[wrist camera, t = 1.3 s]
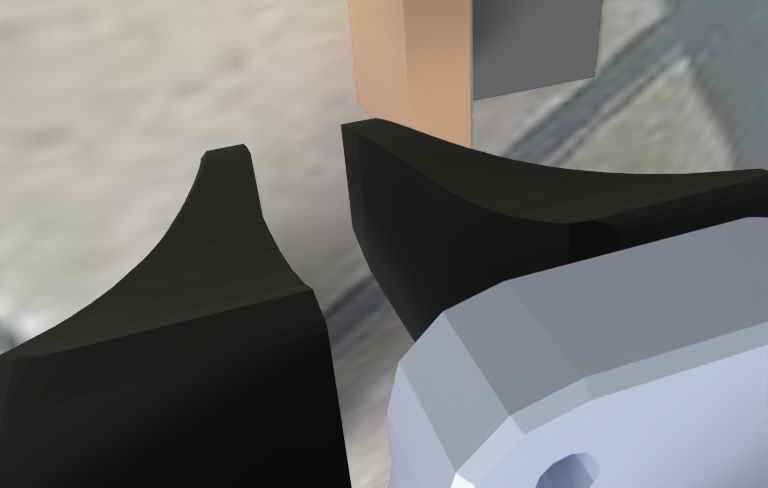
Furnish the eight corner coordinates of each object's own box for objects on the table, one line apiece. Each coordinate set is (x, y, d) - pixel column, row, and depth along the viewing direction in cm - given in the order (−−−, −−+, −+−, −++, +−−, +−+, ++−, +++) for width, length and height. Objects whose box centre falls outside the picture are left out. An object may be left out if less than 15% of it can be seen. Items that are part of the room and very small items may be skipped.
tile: (410, 91, 22) (475, 155, 18) (356, 102, 22) (412, 168, 18) (400, -81, 19) (475, -52, 15) (340, -73, 19) (400, -41, 15)
